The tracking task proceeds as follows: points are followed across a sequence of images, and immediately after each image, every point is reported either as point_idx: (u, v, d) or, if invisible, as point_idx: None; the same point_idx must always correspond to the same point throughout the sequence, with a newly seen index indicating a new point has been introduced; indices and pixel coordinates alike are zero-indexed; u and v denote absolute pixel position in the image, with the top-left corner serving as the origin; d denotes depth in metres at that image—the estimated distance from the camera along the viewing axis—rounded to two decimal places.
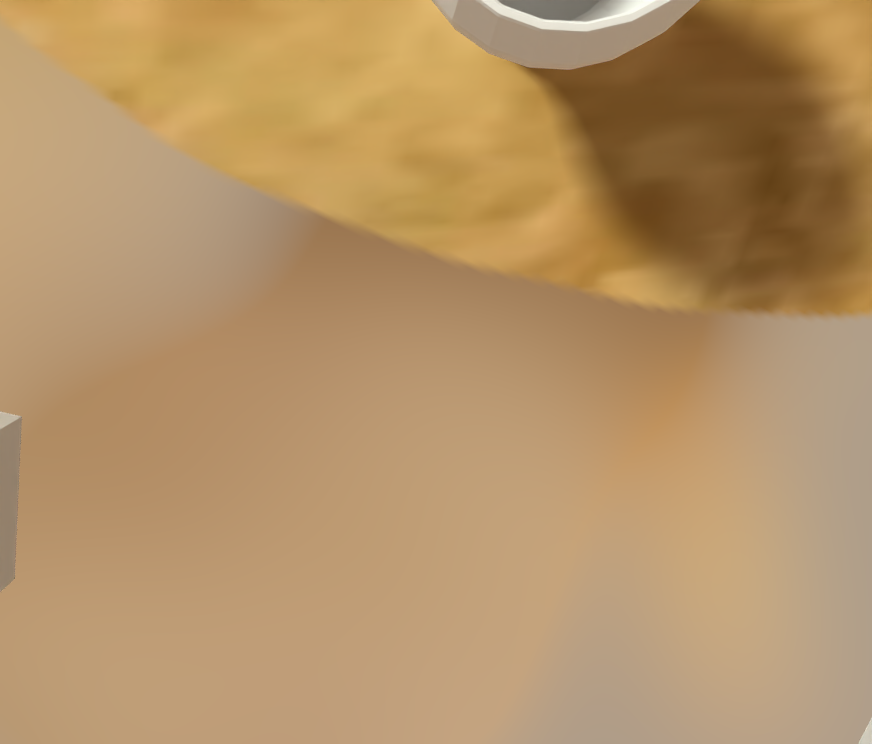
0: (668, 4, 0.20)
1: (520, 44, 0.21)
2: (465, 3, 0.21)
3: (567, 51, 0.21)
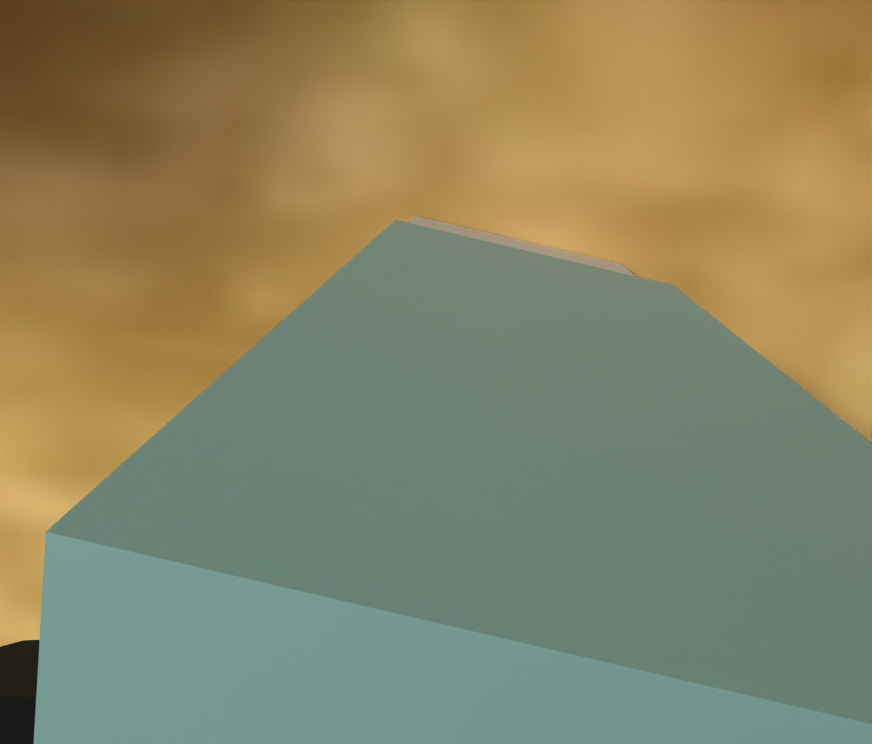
0: None
1: None
2: None
3: None
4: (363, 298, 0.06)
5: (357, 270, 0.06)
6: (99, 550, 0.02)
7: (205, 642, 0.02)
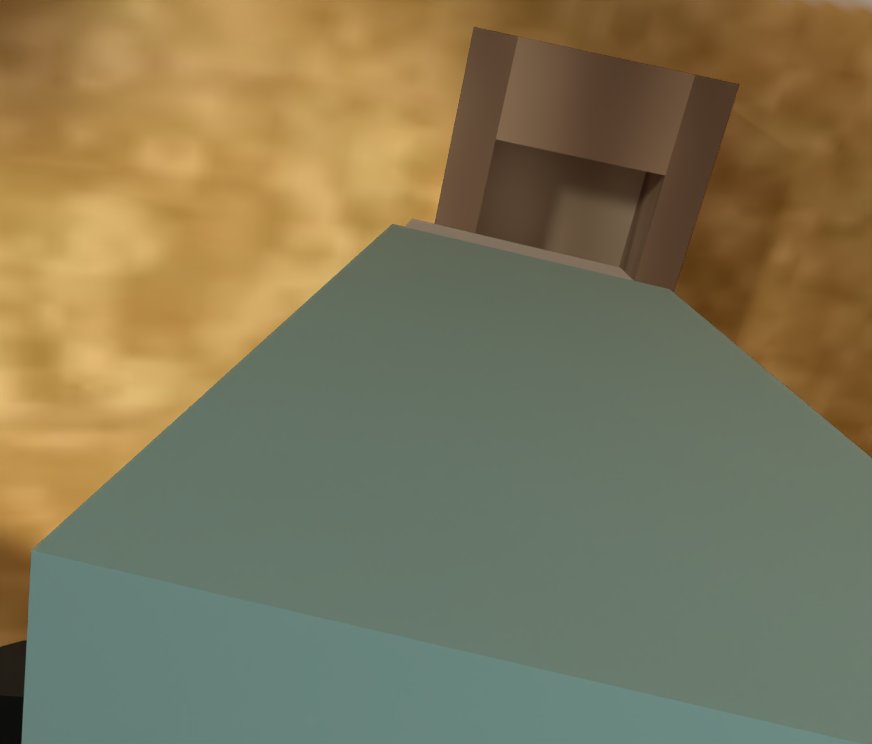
0: None
1: None
2: None
3: None
4: (357, 305, 0.06)
5: (352, 276, 0.07)
6: (84, 568, 0.02)
7: (193, 660, 0.02)
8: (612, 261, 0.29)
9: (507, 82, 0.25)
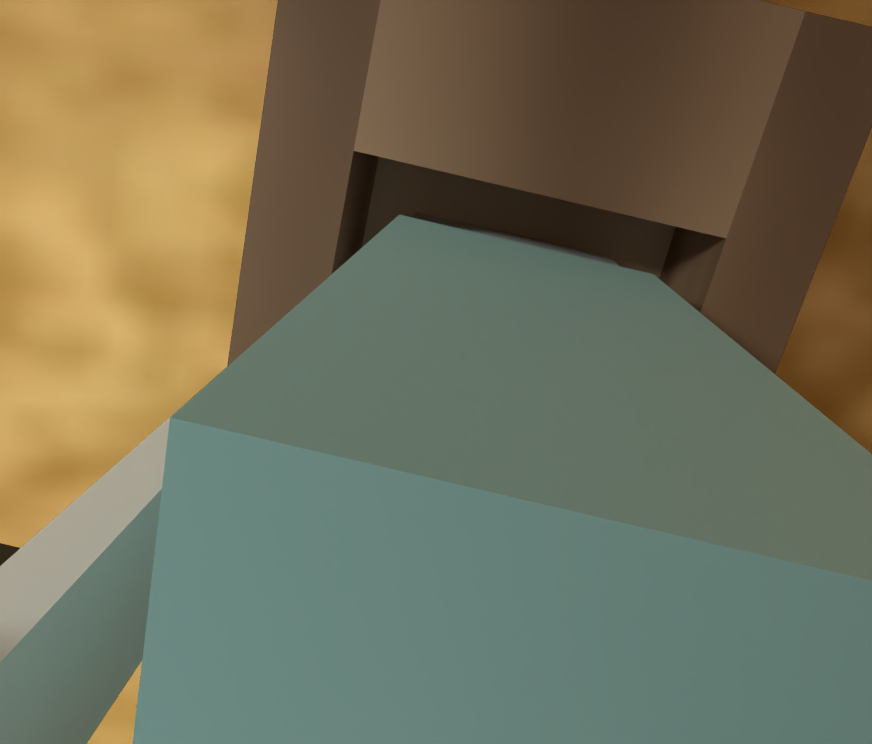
0: None
1: None
2: None
3: None
4: (375, 278, 0.07)
5: (368, 256, 0.07)
6: (206, 430, 0.03)
7: (279, 496, 0.03)
8: None
9: (374, 23, 0.11)
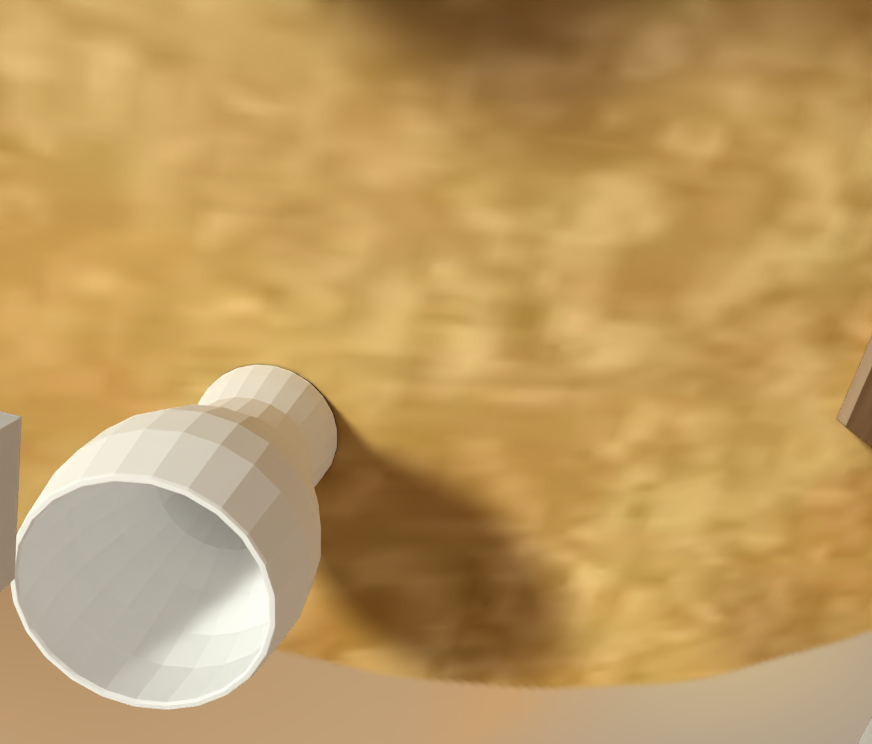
0: None
1: None
2: None
3: None
4: None
5: None
6: None
7: None
8: None
9: None
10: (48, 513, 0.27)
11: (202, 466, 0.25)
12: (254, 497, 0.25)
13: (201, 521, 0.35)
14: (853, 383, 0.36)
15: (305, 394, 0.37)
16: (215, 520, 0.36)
